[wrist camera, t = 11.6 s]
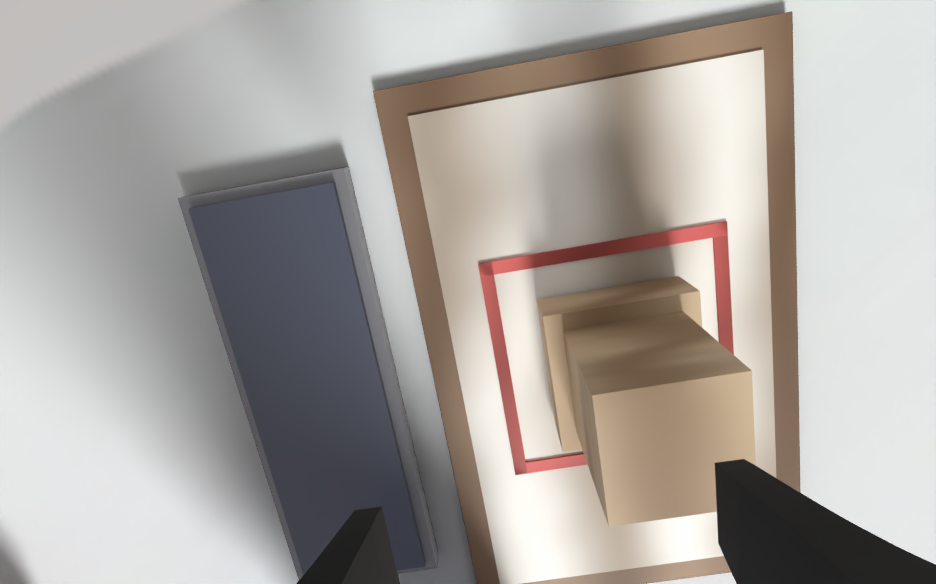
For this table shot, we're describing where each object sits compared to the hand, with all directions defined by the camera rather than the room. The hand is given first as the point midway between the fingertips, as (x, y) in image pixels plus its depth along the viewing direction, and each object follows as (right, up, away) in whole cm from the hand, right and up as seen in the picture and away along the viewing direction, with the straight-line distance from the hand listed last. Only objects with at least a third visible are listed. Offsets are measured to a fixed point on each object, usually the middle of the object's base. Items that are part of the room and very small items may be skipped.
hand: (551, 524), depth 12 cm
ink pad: (-8, +1, +11) cm, 13 cm away
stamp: (+4, +3, +9) cm, 11 cm away
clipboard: (+4, +3, +10) cm, 11 cm away
